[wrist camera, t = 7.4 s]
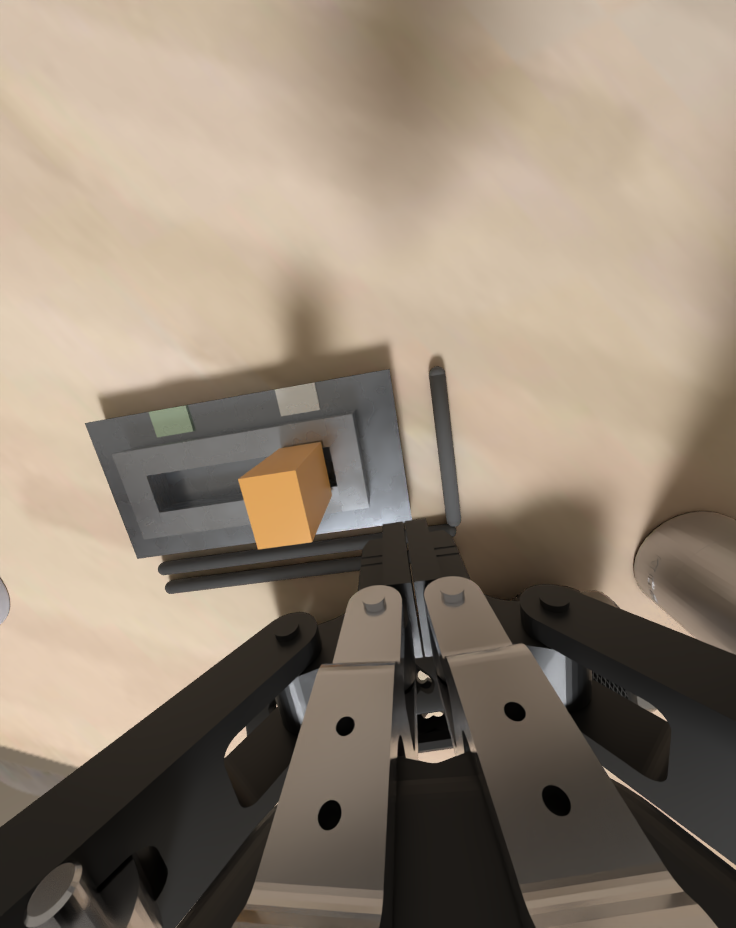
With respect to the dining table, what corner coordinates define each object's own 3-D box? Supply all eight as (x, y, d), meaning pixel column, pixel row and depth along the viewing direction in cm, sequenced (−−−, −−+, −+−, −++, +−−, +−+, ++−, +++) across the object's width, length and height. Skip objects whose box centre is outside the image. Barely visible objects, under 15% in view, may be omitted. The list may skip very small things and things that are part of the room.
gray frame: (443, 365, 26) (445, 364, 25) (463, 552, 30) (466, 559, 29) (111, 423, 28) (99, 425, 27) (172, 589, 33) (164, 597, 31)
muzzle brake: (274, 611, 33) (227, 716, 23) (572, 552, 30) (667, 644, 20) (304, 686, 35) (272, 811, 25) (583, 639, 32) (672, 761, 22)
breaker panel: (389, 369, 26) (389, 369, 22) (410, 511, 29) (414, 532, 25) (105, 419, 28) (61, 427, 25) (152, 547, 31) (120, 571, 28)
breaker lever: (325, 436, 26) (295, 470, 17) (336, 485, 27) (312, 542, 18) (287, 442, 26) (238, 479, 17) (299, 491, 27) (257, 549, 18)
